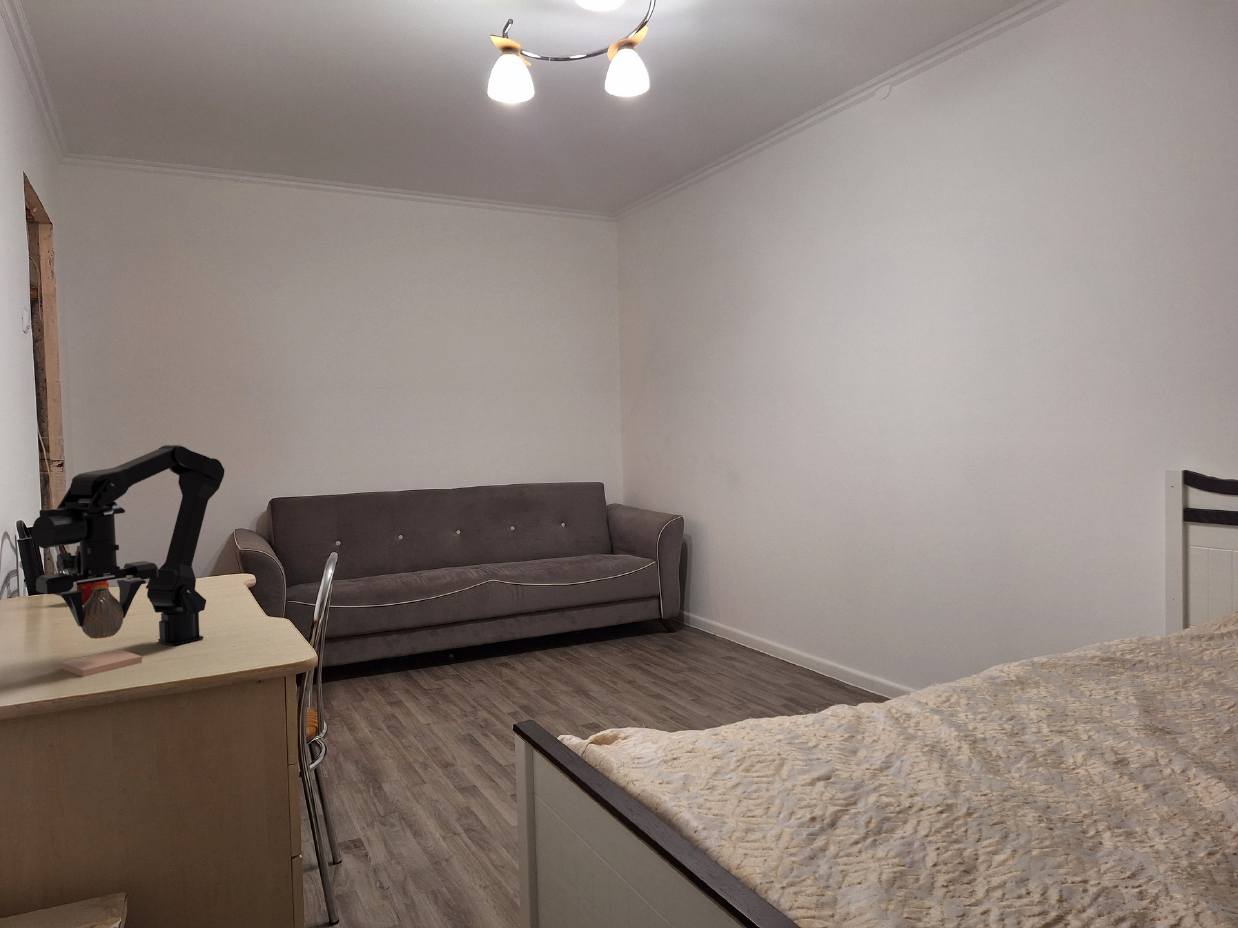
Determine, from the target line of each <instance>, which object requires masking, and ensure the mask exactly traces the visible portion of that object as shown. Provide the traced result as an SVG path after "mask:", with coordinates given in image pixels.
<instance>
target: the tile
mask: <svg viewBox="0 0 1238 928" xmlns="http://www.w3.org/2000/svg"><path fill="white" fill-rule="evenodd" d="M142 659H143V656H142V655H139V654H135V653H134V652H133V653H132V652H129V651H127V650H123V649H113V650H109V651H105V652H101V653H97V654H91V655H88V656H83V657H77V658H74V659H69V660H64V661H61V669H63V670H65V671H67V672H70V673H72V674H75V675H78V676H80V677H83V678H84V677H87V676H88V677H89V676H92V675H97V674H101V673H105V672H108V671H113V670H117V669H121V668H126V667H129V666H133V665H138V664H142V663H143V660H142Z"/></svg>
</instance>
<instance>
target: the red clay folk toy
mask: <svg viewBox="0 0 1238 928" xmlns="http://www.w3.org/2000/svg"><path fill="white" fill-rule="evenodd" d="M76 554H77V550H75V551H74V555H76ZM78 575H81V574H78ZM88 579H89V578H88ZM109 586H110V585H109V582H108V580H107V581H100V582H94V583H88V584H81V585H77V590H78V591H82V604H83V605H84V604H85V603H86V602H87V600H88V599H89V598H90V597H91V595H92V593H93V591H94V590H97V589H108V590H109V591H110V589H109Z"/></svg>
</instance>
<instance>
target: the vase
mask: <svg viewBox="0 0 1238 928" xmlns="http://www.w3.org/2000/svg"><path fill="white" fill-rule="evenodd" d="M108 589H109V588H108ZM108 589H97V590H94V591H93V593H92V595H91V597H90V598H89V599H88V600H87V602H86V603H85V604H83V626H82V627H80V628H81V629H82V632H83V633H84V635H86V636H87V637H88V638H89V639H96V640H97V639H106V638H110V637H113V636H115V635H116V634H117V633H119V631H120V630H121V628H122V626H123V623H124V618H123V617H124V614H123V609H122V606H121V604H120V602H119V599H117V598H116V597H115V596H114V595H113V594H112V593H111V591H110V589H109V590H108Z"/></svg>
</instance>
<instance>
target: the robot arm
mask: <svg viewBox="0 0 1238 928" xmlns="http://www.w3.org/2000/svg"><path fill="white" fill-rule="evenodd" d="M167 470H169V471H170V472H172V473H173V474H175V475H177V476H178V488H179V489H180V492H181V495H182V496H181V501H180V505H179V509H178V514H177V517H176V520H175V524H174V528H173V532H172V536H171V539H170V543H169V546H168V550H167V554H166V559H165V562H164V563H163V564H162V565H161V566H160V568H159V567H158V565H157V564H156V563H155V562H150V561H147V560H141V561H134V562H127V563H124V566H123V568H121V566H119V565H118V559H117V551H119V550H120V546H119V544H118V543H117V541H116V540H117V538H116V524H115V523H116V521H115V519H116V517H115V515H119V514H125V512H126V509H124V508H123V507H121V506H119V504H117V502H116V501H117V500H119V499H120V498H121V497H123V496H124V495H126V493H127V492H128V490H129V488H131V487H132V486H134V485H136V484H138V483H140V482H142V481H145V480H146V479H149V478H151V477H154V476H155V475H157V474H161V473H162V472H164V471H167ZM224 476H225V467H223V464H222V462H221V461H220V460H219V459H217V458H215V457H212V458H211V457H209V456H207V455H205V454H201V453H198V452H196V451H193V450H190V449H188V448H187V447H185V446H183V445H180V444H172V445H171V444H170V445H169V444H168V445H167V444H165V445H162V446H160V447H159V448H158V449H156V450H153V451H150V452H147V453H146V454H144V455H141V456H139V457H136V458H134V459H132V460H129V461H127V462H124V463H122V464H120V465H117V466H115V467H111V468H103V469H98V470H91V471H87V472H83V473H78V474H77V475H75V476H74V477H73V478H71V483H70V486H69V488H68V489H67V492H66V493H65V494H64V496H63V498H62V500H61V501H60V503H59V504H58V506H57V508H55V509H54V508H45V509H44V508H43V509H40V510H39V517H37V518H36V519H35V520H34V522H33V525H32V528H31V529H30V531H31V532H30V533H31V537H32V539H33V542H34V543H35V544H36V545H37V546H38V547H39V548H41V549H49V548H54V547H55V548H57V547H62V546H69V545H75V544H78V543H79V545H77V546H76V551H77V554H76V555H75V554H74V555H73V554H72V553H71V552H64V553H61V552H60V553H58V554H57V555H56V566H57V570H58V573H57V572H56V573H50V574H49V573H48V574H43V575H39V577H38V578H36V581H35V589H36V592H38V593H42V594H45V595H56V596H58V597H61V598H62V599H63V600H64V602H65V604H66V605H67V606H68V609H69V610H70V613H71V614H72V617H73V619H74V621H75V623H76V625H77V626H78V627H80V628H81V627H82V626H83V606H84V604H82V591H78V590H77V585H81V584H88V583H94V582H100V581H107V582H108V581H111V580H112V581H113V580H116V583H117V585H118V590H119V599H118V601H119V602H120V604H121V606H122V609H123V614H124V617H123V619H125V618H126V616H127V613H128V611H129V610H130V607H131V604H132V602H133V600H134V597H135V596H136V594H137V593H138V591H139V589H140V587H141V586H142V585H144V584H145V585H146V586H145V589H147V592H146V596H147V599H148V600H149V602H150V603H151V605H152V608H153V610H154V612H155V613H157V614H158V613H160V620H159V621H158V629H159V630H158V631H159V632H158V634H159V638H158V639H157V640H158V641H157V642H159V643H162V644H166V645H169V646H177V645H183V644H185V643H186V644H187V643H192V642H195V641H200V640H204V635H201V634H200V616H199V613H200V612H203V611H205V609H206V604H207V599H206V598H204V597H203V596H202V594H200V593H199V592H198V591H197V590H196V583H197V578H196V576H195V573H194V572H195V571H194V569H193V562H194V557H195V553H196V550H197V546H198V543H199V538H200V534H201V530H202V527H203V521H204V518H205V514H206V510H207V505H208V502H209V500H210V499H211V498H212V497H213V496H214V495H215V493H216V492H217V491H218V490H219V489H220V487H221V484H222V482H223V479H224ZM68 571H69V572H68ZM64 572H68V573H69V574H67V573H64ZM79 574H81V575H79ZM88 578H89V579H88ZM147 580H148V582H147ZM146 583H147V584H146Z"/></svg>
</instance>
